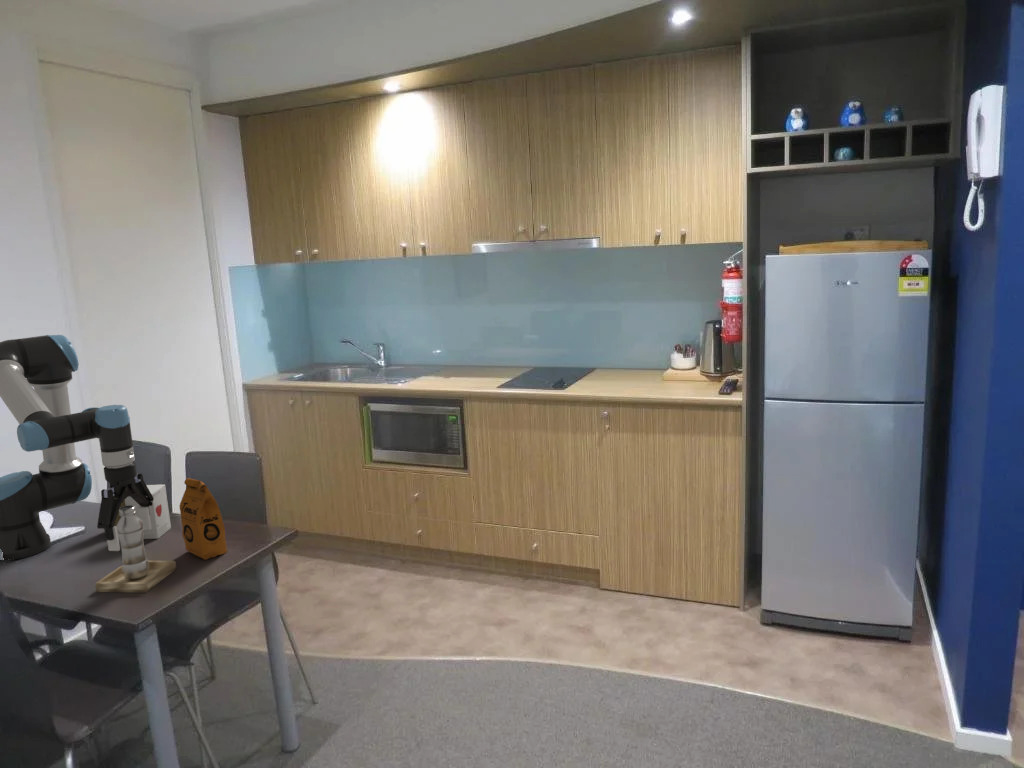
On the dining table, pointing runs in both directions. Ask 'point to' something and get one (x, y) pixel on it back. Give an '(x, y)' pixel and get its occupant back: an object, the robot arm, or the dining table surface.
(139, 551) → the plastic bottle
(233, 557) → the dining table surface
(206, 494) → the coffee package
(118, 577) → the bamboo tray
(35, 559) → the dining table surface
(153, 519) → the supplement box
